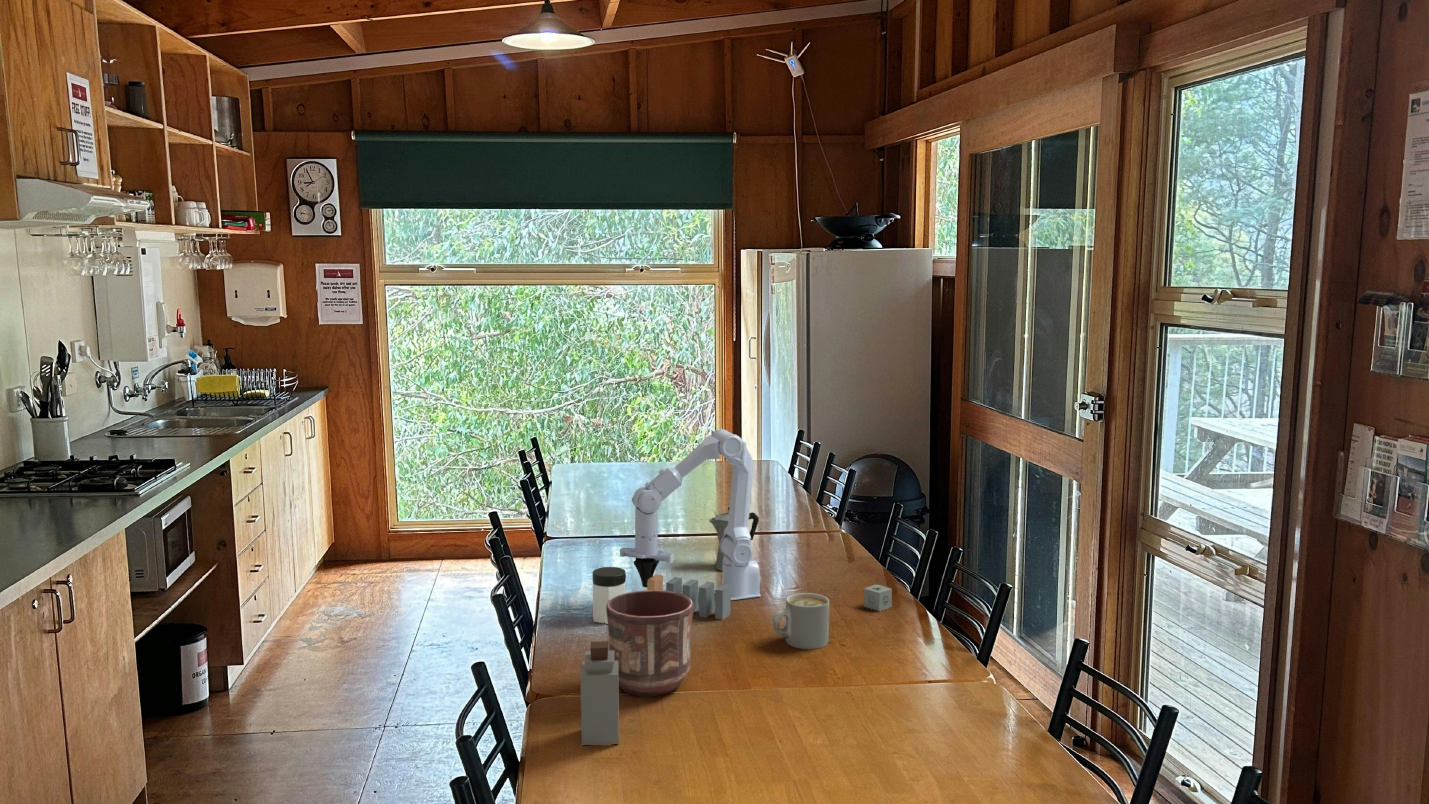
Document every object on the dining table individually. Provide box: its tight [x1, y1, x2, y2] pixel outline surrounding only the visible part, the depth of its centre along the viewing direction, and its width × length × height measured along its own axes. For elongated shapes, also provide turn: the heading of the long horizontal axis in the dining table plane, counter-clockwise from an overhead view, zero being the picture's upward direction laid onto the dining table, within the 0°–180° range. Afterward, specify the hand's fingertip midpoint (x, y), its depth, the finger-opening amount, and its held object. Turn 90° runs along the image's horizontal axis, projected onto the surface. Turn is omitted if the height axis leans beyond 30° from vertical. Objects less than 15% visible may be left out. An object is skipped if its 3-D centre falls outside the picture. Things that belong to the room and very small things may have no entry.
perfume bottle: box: [580, 640, 620, 746], centre depth 192 cm, size 7×7×18 cm
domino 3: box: [682, 579, 699, 613], centre depth 261 cm, size 2×5×8 cm, turn 157°
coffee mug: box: [772, 592, 830, 650], centre depth 241 cm, size 13×10×10 cm
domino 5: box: [714, 584, 732, 621], centre depth 257 cm, size 2×5×8 cm, turn 157°
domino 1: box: [646, 574, 664, 591], centre depth 265 cm, size 2×5×8 cm, turn 157°
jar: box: [592, 566, 627, 625], centre depth 255 cm, size 9×8×12 cm
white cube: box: [863, 584, 893, 612], centre depth 265 cm, size 5×5×5 cm
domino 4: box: [698, 581, 715, 618], centre depth 259 cm, size 2×5×8 cm, turn 156°
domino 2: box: [665, 576, 683, 594], centre depth 263 cm, size 2×5×8 cm, turn 157°
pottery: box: [606, 589, 694, 697], centre depth 215 cm, size 18×18×18 cm
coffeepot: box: [708, 506, 760, 572], centre depth 297 cm, size 15×9×18 cm, turn 113°
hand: (646, 586), depth 266 cm, fingers closed
